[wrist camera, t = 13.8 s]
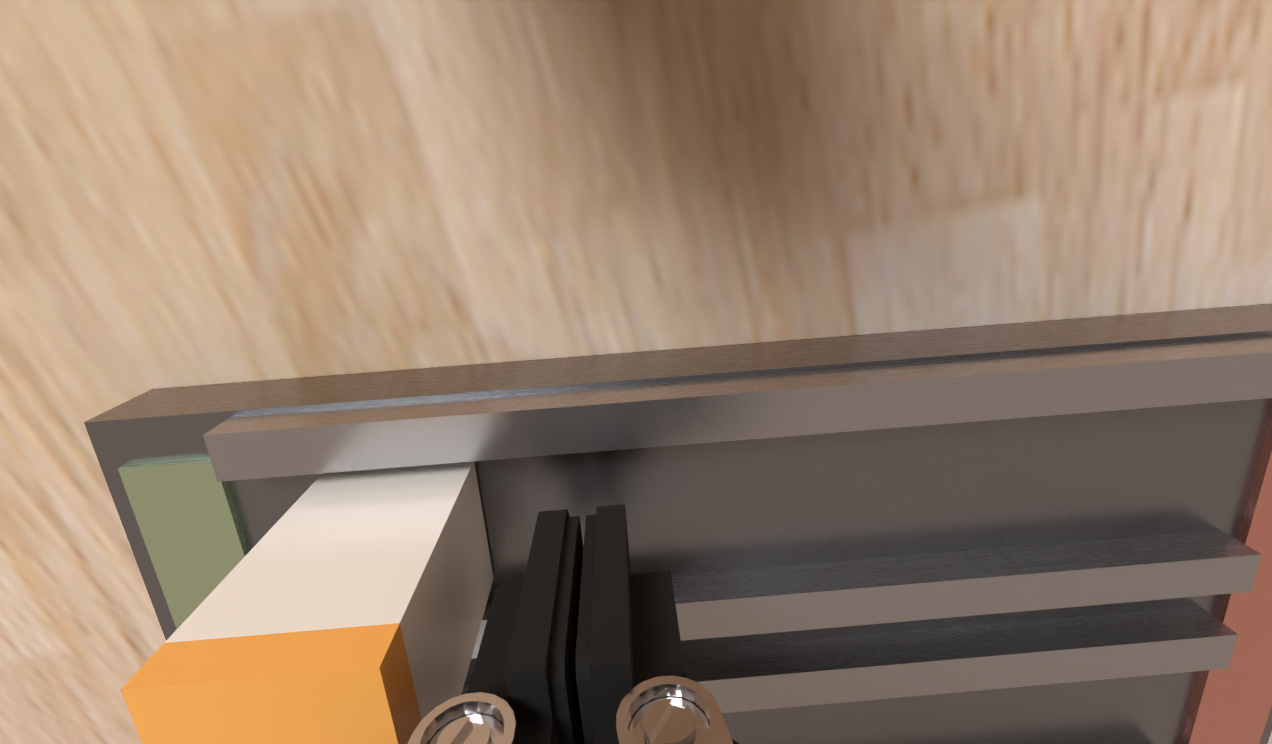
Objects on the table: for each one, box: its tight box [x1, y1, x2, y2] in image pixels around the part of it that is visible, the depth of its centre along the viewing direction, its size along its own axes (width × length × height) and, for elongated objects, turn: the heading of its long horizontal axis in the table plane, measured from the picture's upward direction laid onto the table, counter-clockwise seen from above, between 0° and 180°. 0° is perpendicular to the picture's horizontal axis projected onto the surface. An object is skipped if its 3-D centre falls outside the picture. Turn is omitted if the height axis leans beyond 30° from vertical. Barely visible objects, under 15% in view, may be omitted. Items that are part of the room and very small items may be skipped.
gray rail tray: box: [84, 304, 1272, 744], centre depth 16 cm, size 28×13×3 cm, turn 94°
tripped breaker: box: [121, 461, 494, 744], centre depth 11 cm, size 3×3×6 cm
